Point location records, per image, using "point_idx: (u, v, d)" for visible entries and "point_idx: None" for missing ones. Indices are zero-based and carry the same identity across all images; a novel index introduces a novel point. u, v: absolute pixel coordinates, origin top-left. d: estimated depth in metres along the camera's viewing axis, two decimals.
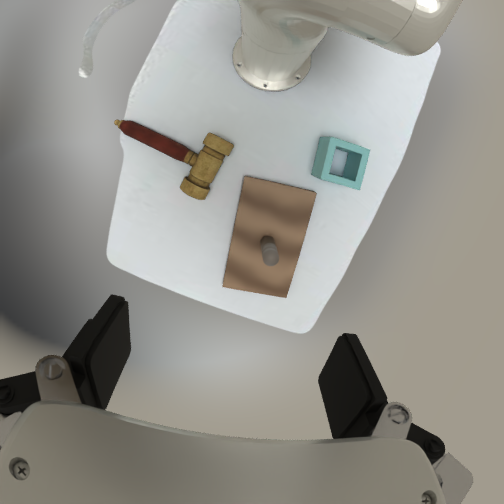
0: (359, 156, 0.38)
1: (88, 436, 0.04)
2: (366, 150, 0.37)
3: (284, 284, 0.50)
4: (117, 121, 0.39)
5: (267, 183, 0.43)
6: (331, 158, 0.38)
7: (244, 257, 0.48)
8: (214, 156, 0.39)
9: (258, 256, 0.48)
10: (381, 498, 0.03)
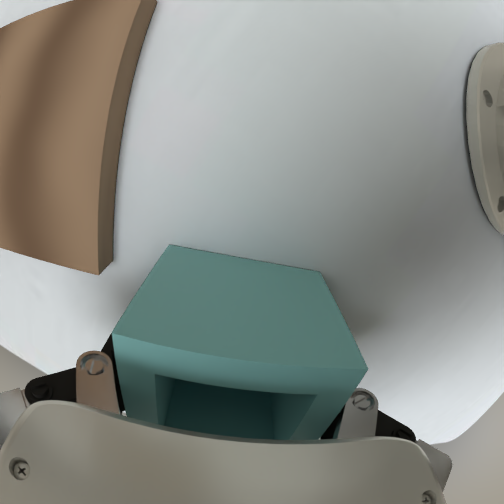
0: (265, 438, 0.09)
1: (88, 436, 0.04)
2: None
3: None
4: None
5: (112, 68, 0.07)
6: (245, 384, 0.06)
7: None
8: None
9: None
10: (381, 498, 0.03)
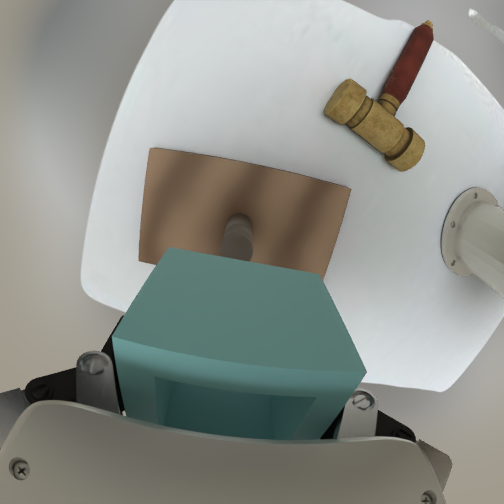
0: None
1: (88, 436, 0.04)
2: None
3: None
4: (431, 25, 0.18)
5: (338, 224, 0.27)
6: (244, 387, 0.06)
7: (209, 186, 0.25)
8: (398, 142, 0.22)
9: (212, 210, 0.26)
10: (381, 498, 0.03)
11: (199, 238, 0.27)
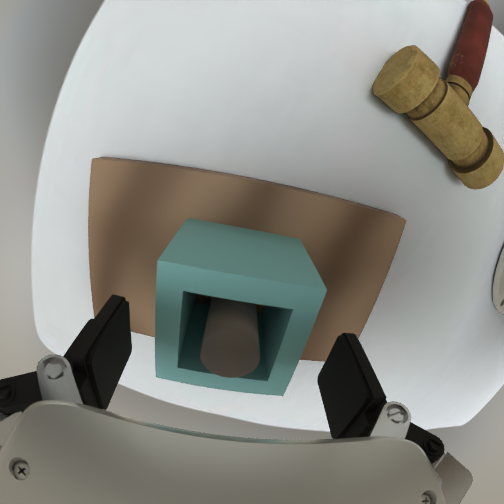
0: (259, 366, 0.13)
1: (88, 436, 0.04)
2: (280, 388, 0.13)
3: None
4: (486, 2, 0.08)
5: (384, 272, 0.17)
6: (243, 296, 0.11)
7: (184, 218, 0.16)
8: (477, 147, 0.12)
9: None
10: (381, 498, 0.03)
11: None
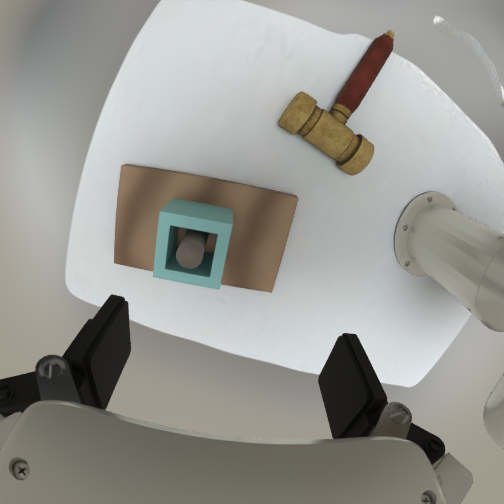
0: (207, 272, 0.27)
1: (88, 436, 0.04)
2: (217, 283, 0.26)
3: (133, 259, 0.31)
4: (392, 34, 0.23)
5: (287, 229, 0.31)
6: (195, 227, 0.24)
7: (171, 198, 0.29)
8: (346, 148, 0.26)
9: None
10: (381, 498, 0.03)
11: None
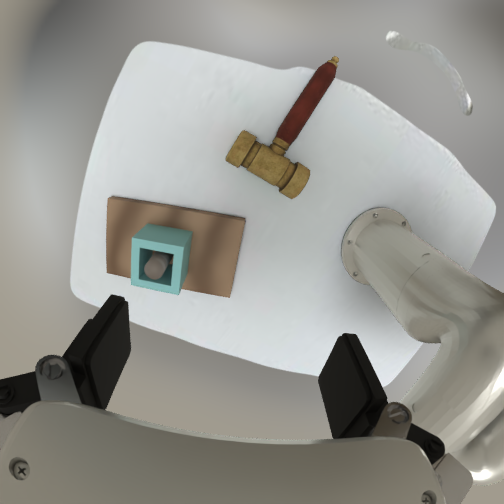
0: (170, 281, 0.34)
1: (88, 436, 0.04)
2: (176, 290, 0.34)
3: (121, 270, 0.39)
4: (336, 60, 0.29)
5: (238, 247, 0.38)
6: (157, 249, 0.32)
7: (146, 223, 0.37)
8: (282, 177, 0.33)
9: None
10: (381, 498, 0.03)
11: None
